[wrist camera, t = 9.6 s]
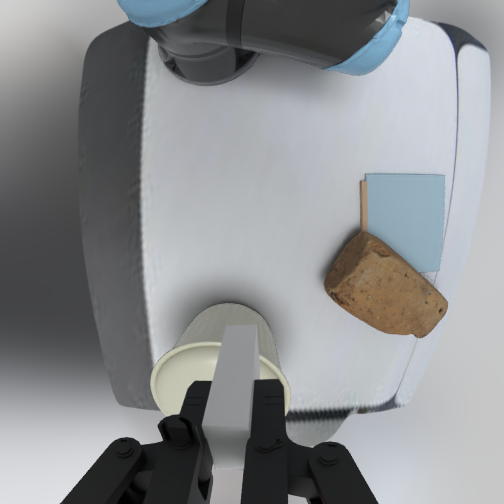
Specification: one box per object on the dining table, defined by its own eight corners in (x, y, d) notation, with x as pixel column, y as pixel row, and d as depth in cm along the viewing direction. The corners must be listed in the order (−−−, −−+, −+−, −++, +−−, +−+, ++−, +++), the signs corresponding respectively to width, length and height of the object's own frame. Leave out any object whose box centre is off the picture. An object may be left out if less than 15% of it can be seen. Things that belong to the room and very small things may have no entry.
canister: (241, 388, 56) (230, 478, 36) (161, 335, 53) (117, 417, 33) (307, 327, 51) (325, 419, 31) (221, 262, 48) (190, 335, 28)
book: (359, 174, 43) (361, 174, 42) (443, 175, 42) (446, 175, 41) (359, 276, 48) (361, 278, 47) (437, 269, 47) (440, 271, 46)
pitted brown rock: (379, 239, 37) (456, 306, 41) (359, 221, 44) (434, 284, 48) (326, 304, 40) (412, 356, 45) (315, 278, 47) (396, 330, 51)
